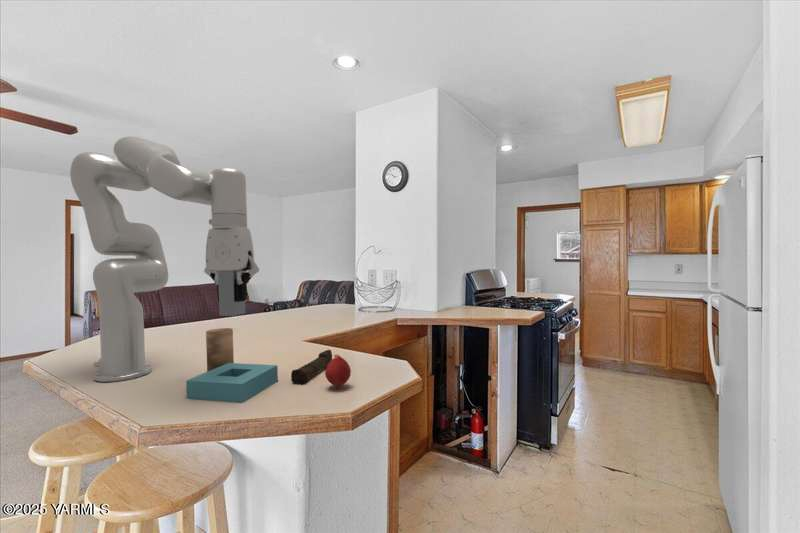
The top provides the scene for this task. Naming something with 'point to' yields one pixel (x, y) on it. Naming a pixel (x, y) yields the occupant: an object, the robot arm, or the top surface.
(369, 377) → the top surface
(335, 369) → the onion
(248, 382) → the socket block
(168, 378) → the top surface
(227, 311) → the square peg
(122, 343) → the robot arm
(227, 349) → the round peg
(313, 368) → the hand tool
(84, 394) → the top surface
